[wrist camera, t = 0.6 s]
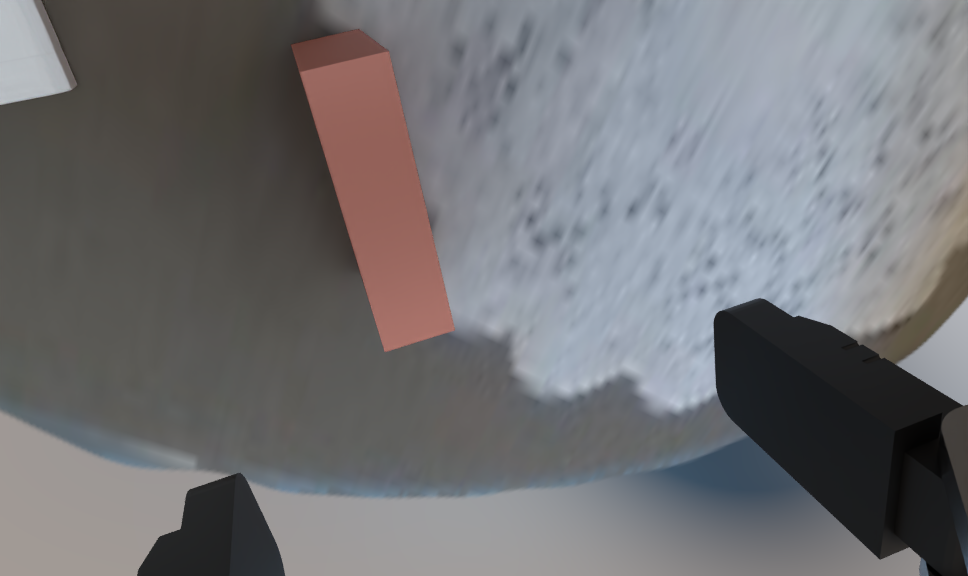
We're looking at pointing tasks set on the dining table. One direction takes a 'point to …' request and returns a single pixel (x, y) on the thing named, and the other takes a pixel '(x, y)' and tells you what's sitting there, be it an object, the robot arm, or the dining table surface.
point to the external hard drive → (30, 53)
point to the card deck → (376, 183)
